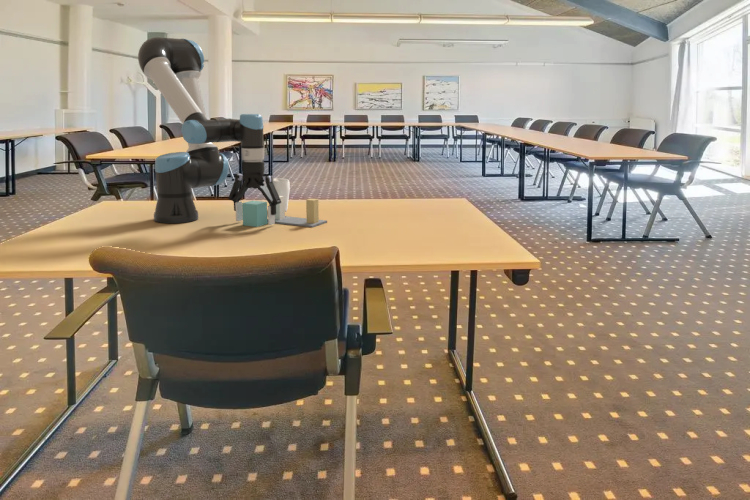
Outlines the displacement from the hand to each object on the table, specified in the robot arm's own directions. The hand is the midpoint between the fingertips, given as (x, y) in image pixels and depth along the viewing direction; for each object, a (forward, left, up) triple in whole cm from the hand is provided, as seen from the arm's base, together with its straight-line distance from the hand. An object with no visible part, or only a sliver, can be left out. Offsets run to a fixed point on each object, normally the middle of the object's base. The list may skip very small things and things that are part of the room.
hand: (255, 222), depth 218 cm
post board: (+10, +10, -1) cm, 14 cm away
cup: (-8, +26, -1) cm, 27 cm away
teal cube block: (0, 0, -1) cm, 1 cm away
